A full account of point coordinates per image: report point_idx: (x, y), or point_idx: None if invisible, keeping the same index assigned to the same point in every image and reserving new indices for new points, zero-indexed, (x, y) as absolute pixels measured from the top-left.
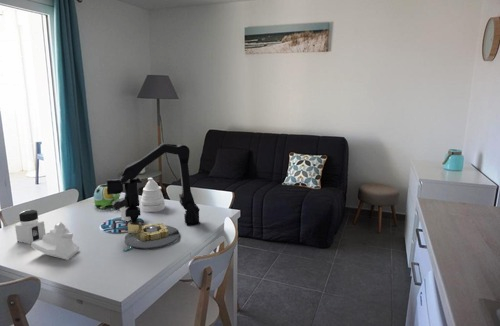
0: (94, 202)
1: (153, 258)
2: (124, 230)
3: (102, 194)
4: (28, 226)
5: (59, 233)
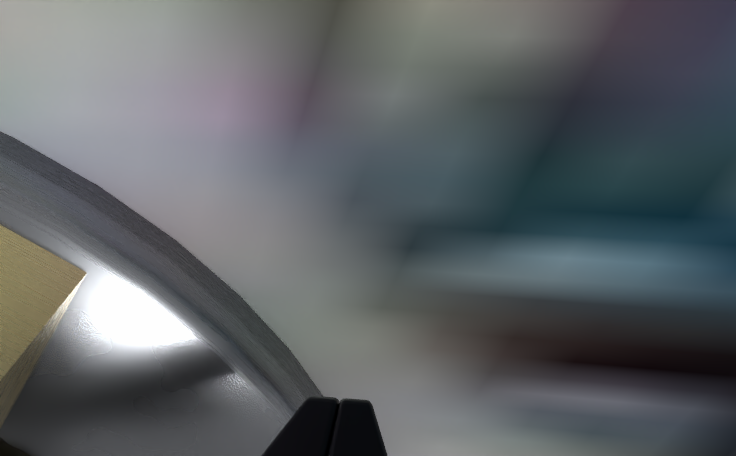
0: None
1: None
2: (495, 28)
3: None
4: None
5: None
